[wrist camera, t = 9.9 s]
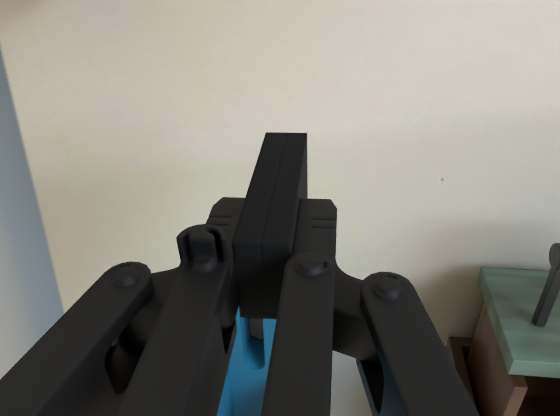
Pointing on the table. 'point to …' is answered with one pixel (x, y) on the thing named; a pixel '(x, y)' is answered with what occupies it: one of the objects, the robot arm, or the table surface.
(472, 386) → the drawer
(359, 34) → the table surface
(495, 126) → the table surface
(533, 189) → the table surface
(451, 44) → the table surface
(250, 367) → the camera mount
